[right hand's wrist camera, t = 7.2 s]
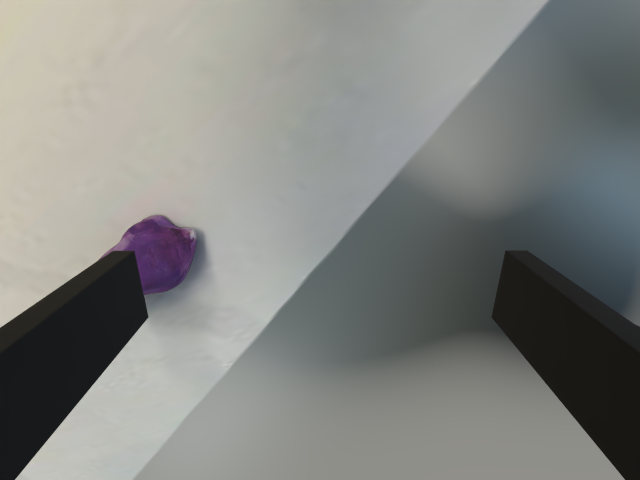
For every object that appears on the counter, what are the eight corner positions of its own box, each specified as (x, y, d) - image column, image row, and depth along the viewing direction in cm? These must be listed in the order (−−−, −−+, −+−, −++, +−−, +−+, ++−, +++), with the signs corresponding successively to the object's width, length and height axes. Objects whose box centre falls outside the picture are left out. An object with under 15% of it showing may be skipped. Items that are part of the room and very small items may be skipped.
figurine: (116, 280, 43) (17, 363, 29) (122, 203, 39) (12, 255, 25) (192, 298, 44) (131, 386, 30) (204, 224, 40) (142, 285, 26)
